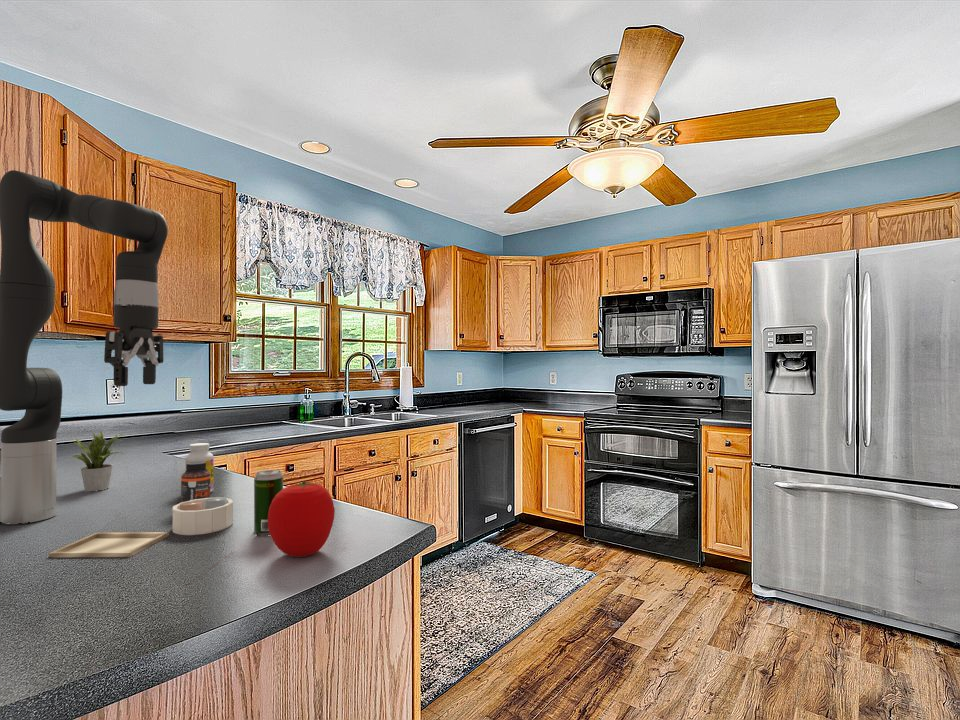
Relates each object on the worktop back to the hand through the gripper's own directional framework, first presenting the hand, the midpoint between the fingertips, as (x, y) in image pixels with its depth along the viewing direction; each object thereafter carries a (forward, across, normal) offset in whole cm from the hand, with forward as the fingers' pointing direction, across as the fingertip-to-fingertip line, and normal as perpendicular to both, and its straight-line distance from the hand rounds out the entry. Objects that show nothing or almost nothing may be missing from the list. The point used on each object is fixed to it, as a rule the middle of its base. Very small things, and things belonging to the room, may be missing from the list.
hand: (135, 385), depth 104 cm
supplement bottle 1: (+30, -33, -5) cm, 45 cm away
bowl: (+30, -2, +13) cm, 32 cm away
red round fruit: (+29, +12, +38) cm, 50 cm away
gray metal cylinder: (+29, -4, +15) cm, 33 cm away
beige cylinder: (+29, 0, +11) cm, 31 cm away
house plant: (+30, -37, -34) cm, 58 cm away
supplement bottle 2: (+30, -15, +4) cm, 34 cm away
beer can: (+30, 0, +27) cm, 40 cm away
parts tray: (+30, +9, +2) cm, 31 cm away
